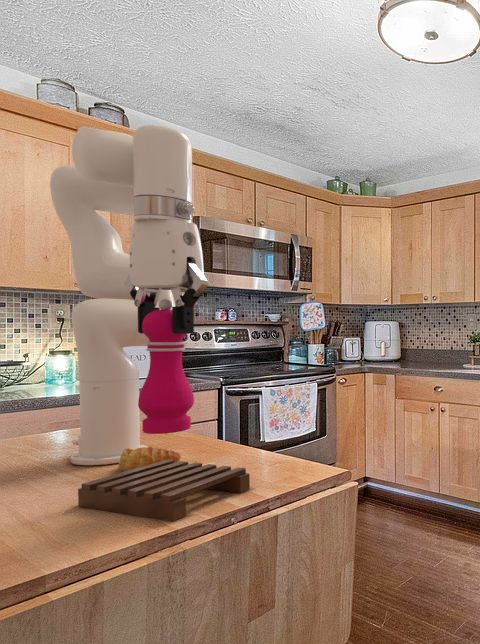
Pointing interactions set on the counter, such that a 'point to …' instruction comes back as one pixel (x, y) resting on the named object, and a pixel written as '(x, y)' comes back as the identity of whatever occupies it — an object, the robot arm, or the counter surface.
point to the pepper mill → (165, 376)
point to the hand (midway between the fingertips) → (166, 332)
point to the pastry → (145, 457)
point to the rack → (159, 488)
